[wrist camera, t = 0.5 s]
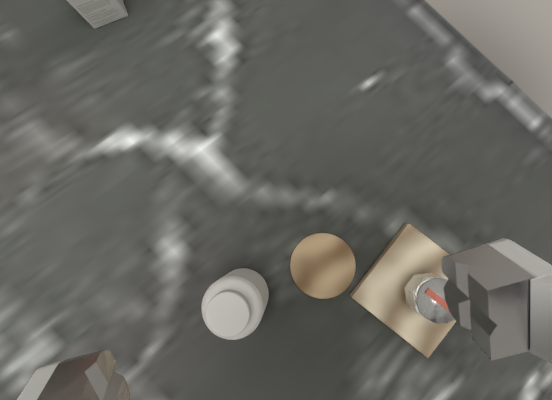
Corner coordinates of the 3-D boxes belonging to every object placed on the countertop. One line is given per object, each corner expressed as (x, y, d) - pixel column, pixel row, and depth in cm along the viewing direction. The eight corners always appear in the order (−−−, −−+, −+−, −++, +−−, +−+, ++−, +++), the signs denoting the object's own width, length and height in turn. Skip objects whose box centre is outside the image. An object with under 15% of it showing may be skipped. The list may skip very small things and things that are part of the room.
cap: (454, 290, 52) (473, 298, 47) (429, 322, 52) (446, 333, 46) (421, 265, 53) (436, 270, 47) (397, 296, 52) (409, 305, 47)
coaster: (368, 260, 58) (368, 260, 57) (328, 311, 58) (328, 312, 57) (316, 220, 59) (317, 220, 58) (277, 270, 58) (277, 270, 58)
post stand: (479, 280, 57) (514, 290, 48) (423, 353, 57) (448, 377, 48) (404, 223, 58) (425, 223, 49) (349, 294, 58) (360, 307, 49)
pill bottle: (253, 257, 59) (241, 269, 44) (278, 303, 58) (273, 331, 43) (209, 281, 59) (181, 301, 44) (232, 328, 58) (212, 363, 43)
